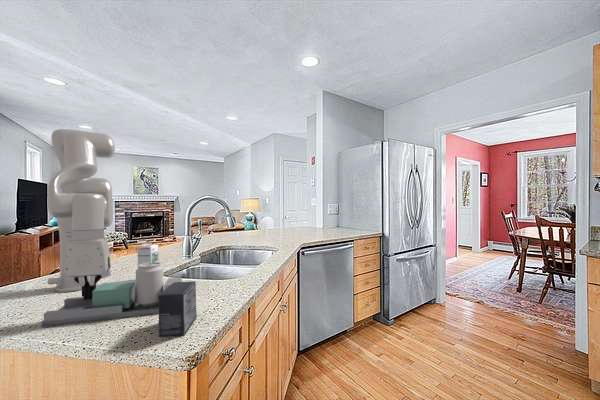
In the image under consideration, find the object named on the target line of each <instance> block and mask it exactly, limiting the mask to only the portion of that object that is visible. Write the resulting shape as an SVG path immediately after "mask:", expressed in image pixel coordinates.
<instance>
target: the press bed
mask: <svg viewBox="0 0 600 400" xmlns="http://www.w3.org/2000/svg"><path fill="white" fill-rule="evenodd" d="M182 278H183V277H181V276H180V277H170V278H167V280H166V282H165V283H164V290H165V289H166V288H168V287H169V286H170V285H171V284H172V283H174V282H183V281H182ZM63 303H64V305H63V306H61V307H60V308H59V309H58V310H47V311H46V312H44V313H43V320H41V328H46V327H54V326H63V324H65V325H71V324H79V323H89V322H97V321H106V320H115V318H116V319H124V318H132V317H134V318H135V317H140V316H141V317H142V316H149V315H151V316H152V315H157V314H158V315H159V304H158V303H157V304H155V305H150V306H141V305H139V304H138V303H136V302H133V304H132V305H131V306H130V307H129V308H124V303H123V304H113V305H104V306H94V307H93V304H92V299H91V300H88V299H87V300H83V297H82V296H80V297H79V296H75V297H69V298H68V297H67V298H65V299H64V302H63Z"/></svg>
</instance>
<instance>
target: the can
mask: <svg viewBox="0 0 600 400" xmlns="http://www.w3.org/2000/svg"><path fill="white" fill-rule="evenodd" d="M138 267H139V268H138ZM164 280H165V279H164V267H163V266H162V263H161V262H159V261H158V262H149V263H143V264H140V265H138V264H137V269H136V270H135V281H136V303H138V304H139V305H141V306H150V305H155V304H157V303H158V295H159V294H160V293H161V292H163V291H164V285H165V283H164Z"/></svg>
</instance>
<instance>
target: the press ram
mask: <svg viewBox="0 0 600 400" xmlns="http://www.w3.org/2000/svg"><path fill="white" fill-rule="evenodd" d="M133 302H136V280H126V281H115V282H103V283H102V284H100V285H99V286H98V287H97V286H96V289H95V290H93V291H92V304H93V307H94V306H104V305H113V304H123V303H124V308H129V307H130V306H131V305H132V304H133Z"/></svg>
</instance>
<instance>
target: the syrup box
mask: <svg viewBox="0 0 600 400" xmlns="http://www.w3.org/2000/svg"><path fill="white" fill-rule="evenodd" d="M136 249H137V251H136V252H137V269H138V268H139V267H138V265H140V264H143V263H149V262H159V245H158V244H157V243H156V244H154V243H153V244H152V243H151V244H144V245H141V246H138V247H137V248H136Z"/></svg>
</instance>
